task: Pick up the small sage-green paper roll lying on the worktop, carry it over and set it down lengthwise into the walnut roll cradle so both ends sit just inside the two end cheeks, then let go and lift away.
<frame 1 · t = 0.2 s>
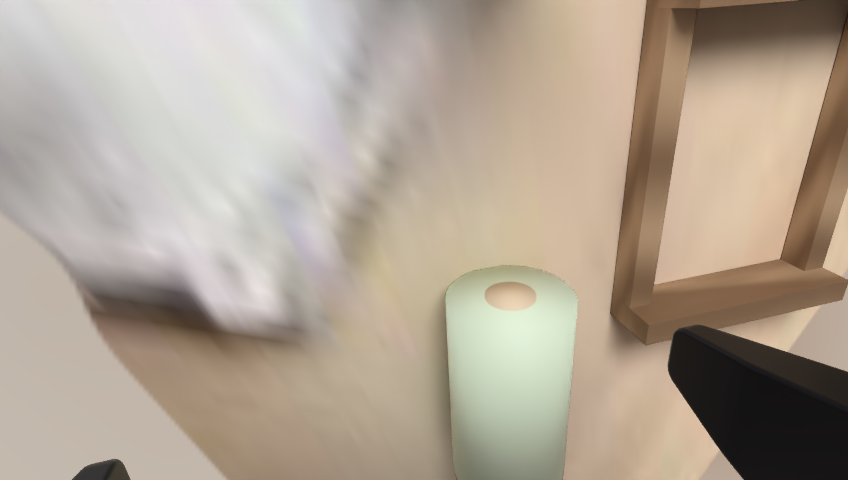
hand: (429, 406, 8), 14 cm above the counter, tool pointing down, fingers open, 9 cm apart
holder: (734, 152, 25), on the counter
roll: (487, 351, 27), on the counter
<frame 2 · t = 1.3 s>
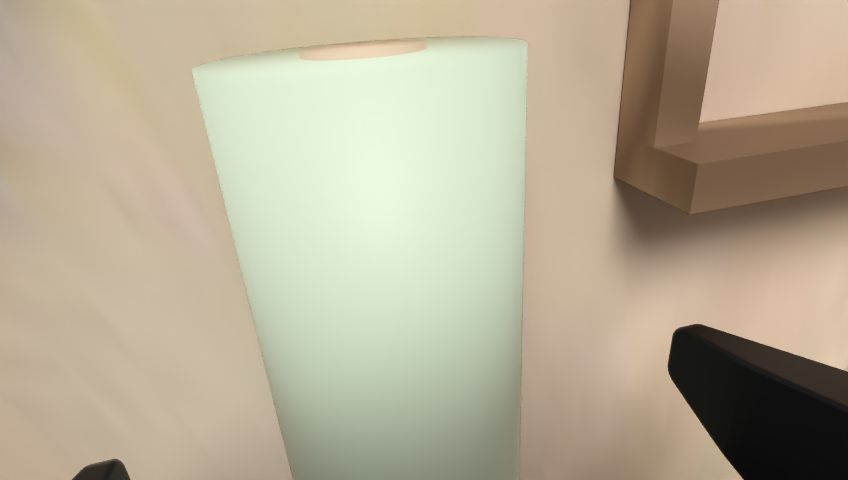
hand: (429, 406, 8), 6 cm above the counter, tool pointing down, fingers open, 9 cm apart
roll: (371, 244, 13), on the counter
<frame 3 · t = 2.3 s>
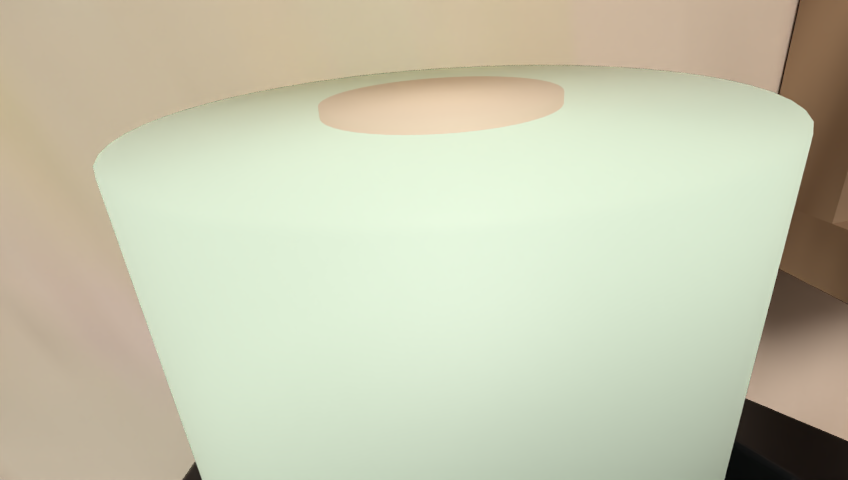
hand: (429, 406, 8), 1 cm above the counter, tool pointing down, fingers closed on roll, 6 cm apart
roll: (412, 359, 9), on the counter, touching gripper
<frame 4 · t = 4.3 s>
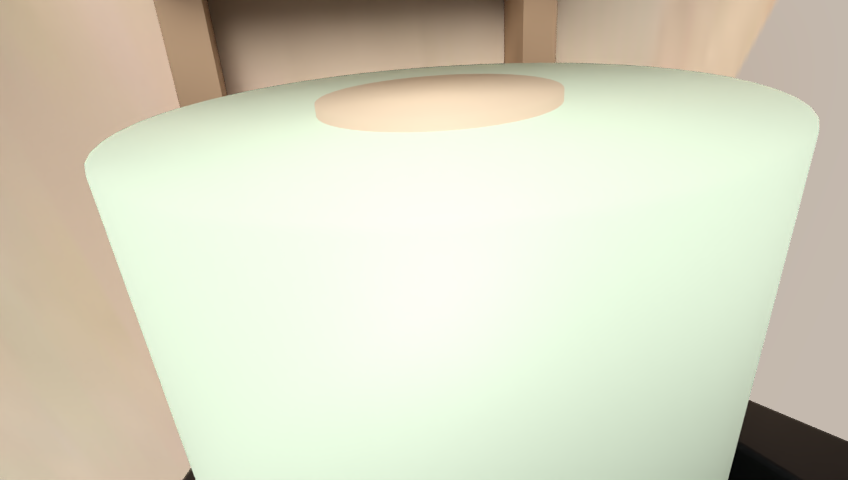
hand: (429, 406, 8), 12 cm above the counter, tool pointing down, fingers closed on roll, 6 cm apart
holder: (382, 165, 19), on the counter
roll: (411, 360, 9), point 11 cm above the counter, touching gripper
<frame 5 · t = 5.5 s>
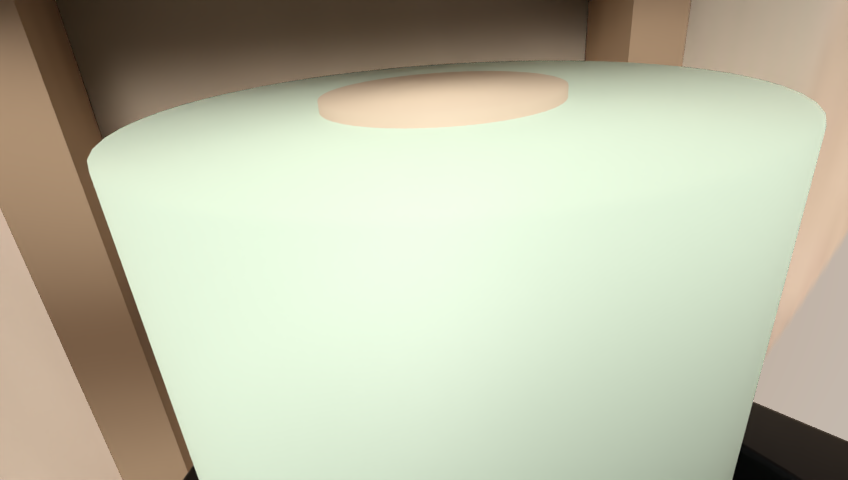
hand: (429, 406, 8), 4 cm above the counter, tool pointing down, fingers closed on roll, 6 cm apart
holder: (385, 280, 12), on the counter
roll: (412, 359, 9), point 3 cm above the counter, touching gripper
when the fingers open (2 cm above the counter, at t = 6.2 s): roll drops 1 cm, resting in holder.
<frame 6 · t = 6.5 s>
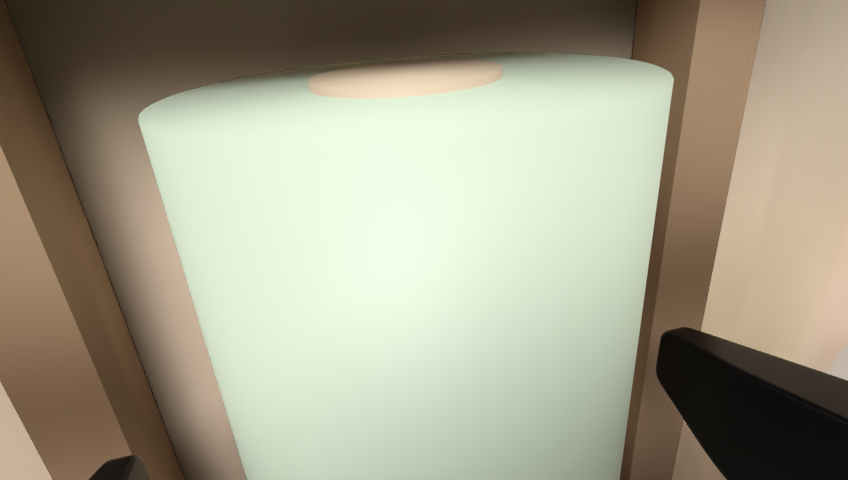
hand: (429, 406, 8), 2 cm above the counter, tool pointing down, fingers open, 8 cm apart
holder: (398, 321, 10), on the counter
roll: (396, 316, 10), resting in holder
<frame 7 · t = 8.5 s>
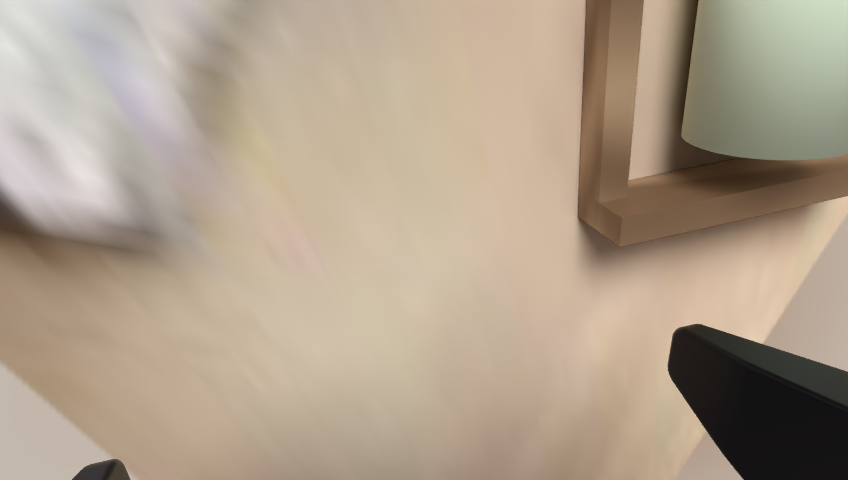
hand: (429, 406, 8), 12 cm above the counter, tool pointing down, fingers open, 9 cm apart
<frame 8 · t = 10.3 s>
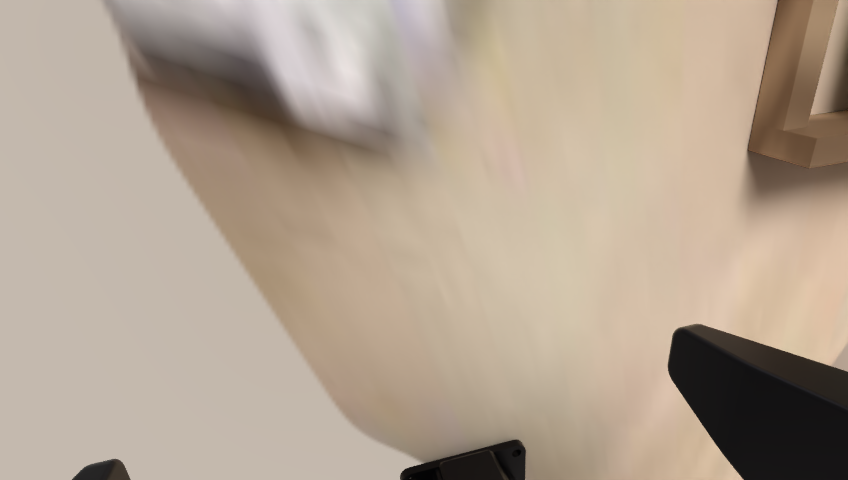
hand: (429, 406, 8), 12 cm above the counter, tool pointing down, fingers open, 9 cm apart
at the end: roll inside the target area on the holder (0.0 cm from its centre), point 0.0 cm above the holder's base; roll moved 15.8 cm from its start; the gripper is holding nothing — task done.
